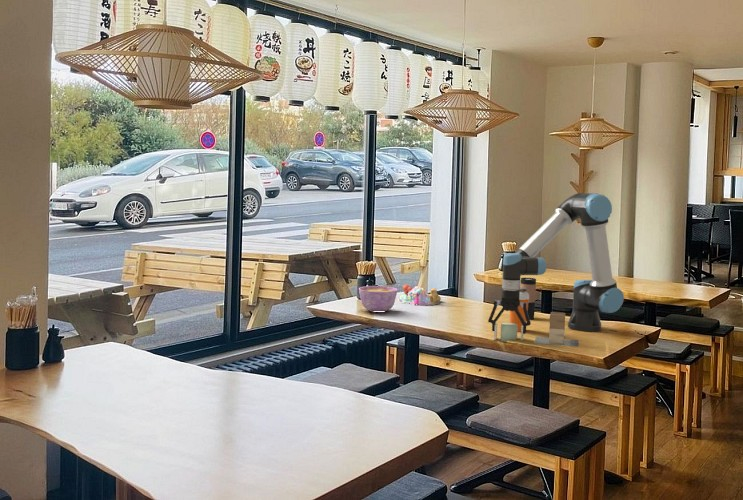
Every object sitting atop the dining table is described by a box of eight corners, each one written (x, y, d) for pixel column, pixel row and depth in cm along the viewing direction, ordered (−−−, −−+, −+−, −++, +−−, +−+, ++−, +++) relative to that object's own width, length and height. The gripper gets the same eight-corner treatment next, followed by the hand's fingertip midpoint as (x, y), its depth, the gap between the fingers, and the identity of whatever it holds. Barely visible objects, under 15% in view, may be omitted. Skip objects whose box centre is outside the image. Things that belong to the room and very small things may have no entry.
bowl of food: (350, 310, 392) (350, 288, 391) (378, 306, 405) (379, 284, 404) (376, 316, 377) (377, 293, 376) (405, 312, 390) (406, 289, 389)
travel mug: (518, 316, 385) (520, 277, 383) (533, 317, 384) (535, 277, 382) (519, 319, 378) (521, 279, 376) (535, 320, 377) (536, 280, 375)
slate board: (535, 338, 334) (536, 336, 334) (578, 342, 330) (578, 340, 329) (533, 345, 322) (533, 342, 322) (577, 349, 317) (577, 346, 317)
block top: (550, 325, 329) (550, 312, 328) (564, 326, 327) (565, 313, 326) (549, 328, 323) (550, 314, 322) (564, 329, 321) (564, 315, 321)
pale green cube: (501, 338, 335) (502, 322, 334) (517, 339, 333) (518, 323, 332) (499, 341, 328) (500, 325, 327) (516, 342, 326) (516, 326, 325)
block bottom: (549, 339, 329) (550, 325, 329) (564, 340, 328) (564, 326, 327) (548, 342, 324) (549, 328, 323) (563, 343, 322) (564, 329, 321)
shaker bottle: (523, 335, 342) (525, 290, 340) (504, 332, 347) (506, 288, 344) (530, 331, 349) (532, 288, 347) (512, 329, 354) (513, 286, 352)
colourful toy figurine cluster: (442, 299, 433) (442, 283, 432) (441, 307, 409) (442, 290, 408) (397, 298, 435) (398, 282, 434) (395, 305, 412) (395, 288, 411)
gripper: (482, 288, 328) (480, 339, 330) (537, 292, 321) (535, 344, 323) (485, 286, 335) (483, 335, 337) (538, 289, 328) (536, 340, 331)
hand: (508, 339), depth 330 cm, fingers open, 11 cm apart
